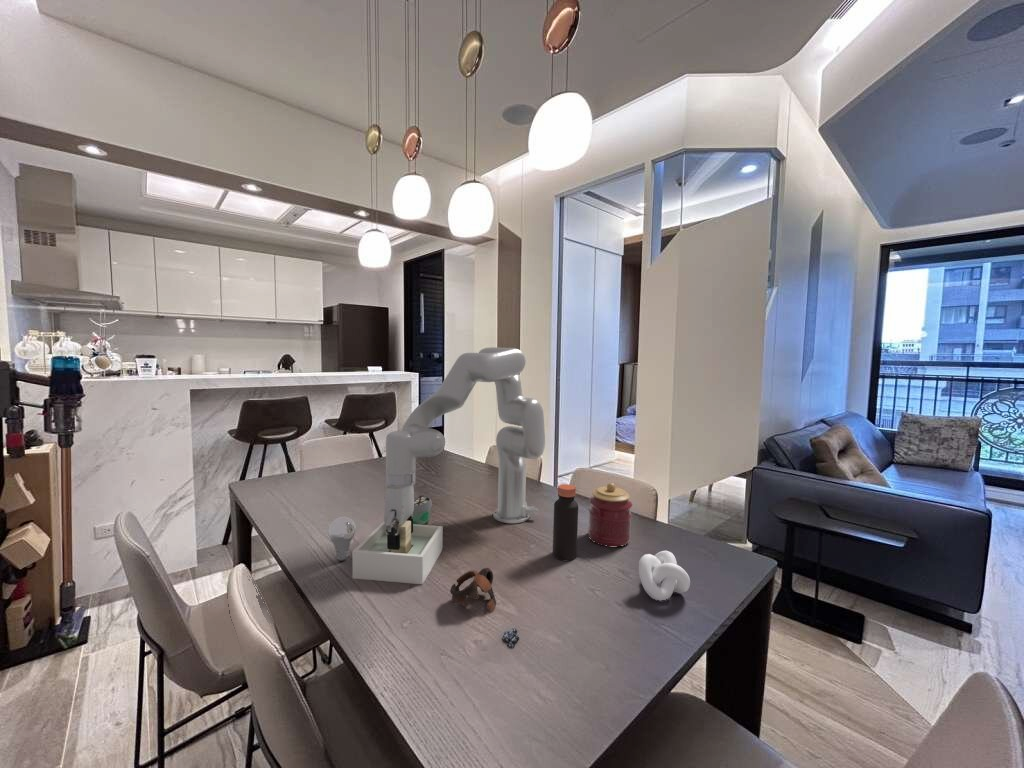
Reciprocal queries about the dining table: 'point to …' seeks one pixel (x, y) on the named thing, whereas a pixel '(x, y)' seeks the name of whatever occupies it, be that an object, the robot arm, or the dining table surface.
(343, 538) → the light bulb
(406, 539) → the maple peg
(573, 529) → the bottle
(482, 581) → the brown looped sculpture
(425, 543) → the bore plate
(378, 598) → the dining table surface
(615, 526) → the canister
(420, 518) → the food container
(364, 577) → the open box
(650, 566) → the white knot sculpture
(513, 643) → the blueberries
